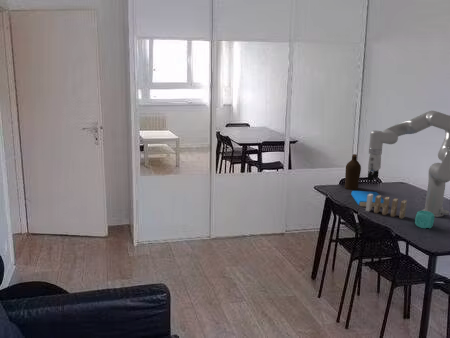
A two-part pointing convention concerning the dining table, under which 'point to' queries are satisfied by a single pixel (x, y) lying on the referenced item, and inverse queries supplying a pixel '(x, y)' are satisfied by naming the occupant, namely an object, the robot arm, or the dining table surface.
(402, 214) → the domino
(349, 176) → the olive oil
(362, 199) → the book
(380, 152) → the robot arm
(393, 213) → the domino
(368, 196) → the end domino
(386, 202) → the domino
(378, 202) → the domino
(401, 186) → the dining table surface
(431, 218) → the decorative dice
